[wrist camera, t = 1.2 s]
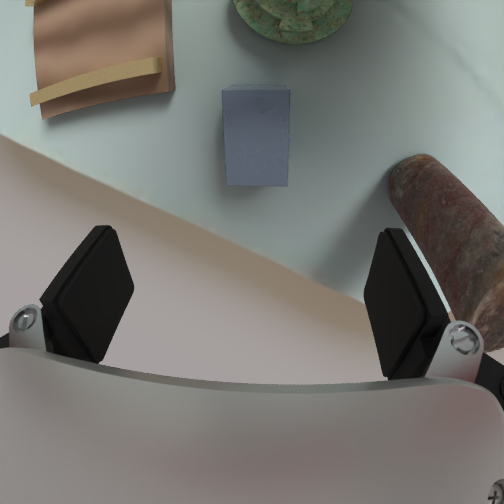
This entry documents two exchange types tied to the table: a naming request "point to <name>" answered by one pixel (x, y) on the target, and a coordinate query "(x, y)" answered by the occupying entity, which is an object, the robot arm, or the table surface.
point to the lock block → (256, 134)
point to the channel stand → (100, 52)
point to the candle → (455, 242)
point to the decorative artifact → (294, 18)
